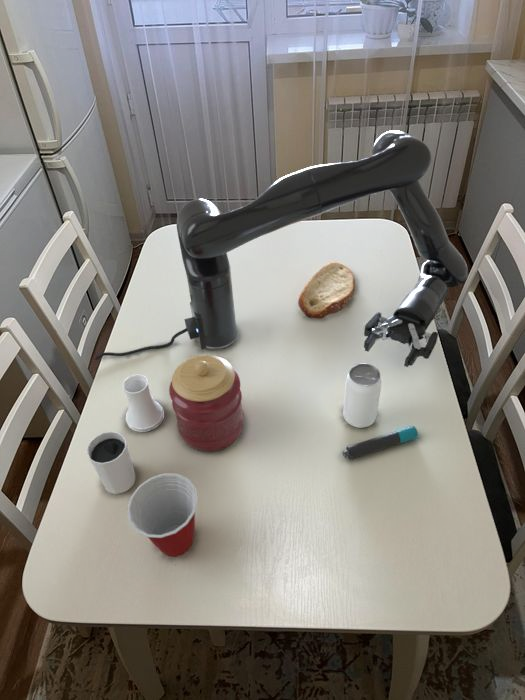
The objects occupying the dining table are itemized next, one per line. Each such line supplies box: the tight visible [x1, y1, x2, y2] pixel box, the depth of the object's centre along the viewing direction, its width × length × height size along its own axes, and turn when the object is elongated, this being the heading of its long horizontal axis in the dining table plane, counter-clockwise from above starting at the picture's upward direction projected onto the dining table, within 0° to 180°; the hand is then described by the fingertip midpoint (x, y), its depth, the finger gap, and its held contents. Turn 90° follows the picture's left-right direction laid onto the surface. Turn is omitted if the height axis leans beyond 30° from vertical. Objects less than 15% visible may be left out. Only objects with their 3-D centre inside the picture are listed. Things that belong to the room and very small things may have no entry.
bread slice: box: [297, 261, 356, 320], centre depth 135 cm, size 18×18×4 cm
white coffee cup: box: [86, 431, 136, 495], centre depth 95 cm, size 7×7×10 cm
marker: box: [342, 425, 419, 460], centre depth 101 cm, size 15×2×2 cm
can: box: [342, 362, 382, 429], centre depth 103 cm, size 6×6×12 cm
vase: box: [122, 373, 165, 433], centre depth 106 cm, size 8×8×10 cm
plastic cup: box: [126, 472, 199, 558], centre depth 86 cm, size 11×11×12 cm
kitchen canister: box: [168, 354, 245, 452], centre depth 101 cm, size 13×13×18 cm
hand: (386, 355), depth 108 cm, fingers open, 8 cm apart
